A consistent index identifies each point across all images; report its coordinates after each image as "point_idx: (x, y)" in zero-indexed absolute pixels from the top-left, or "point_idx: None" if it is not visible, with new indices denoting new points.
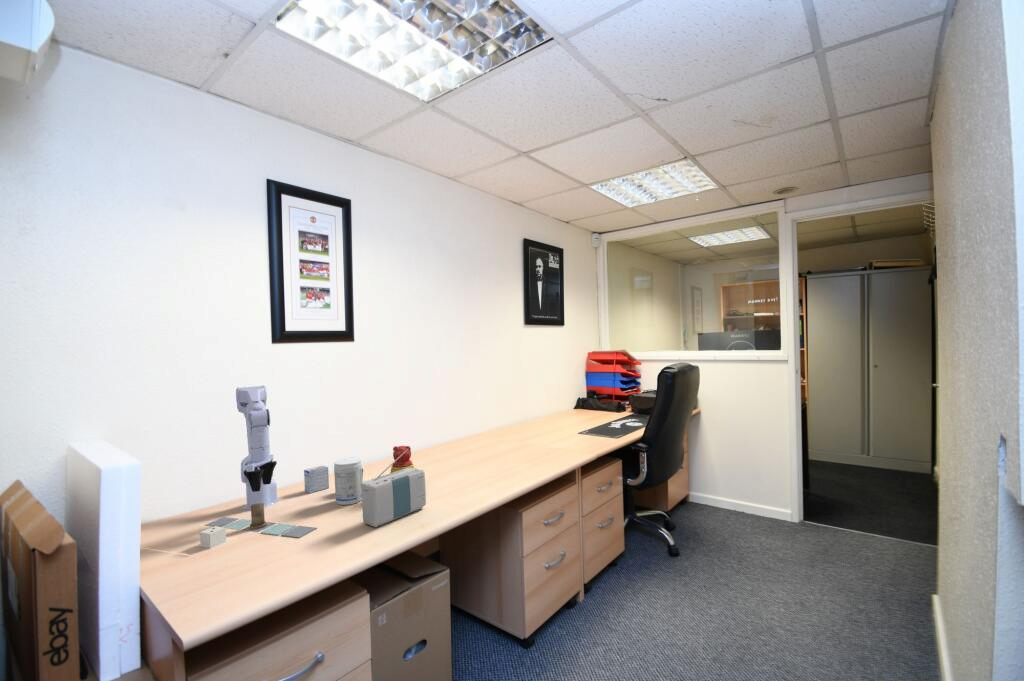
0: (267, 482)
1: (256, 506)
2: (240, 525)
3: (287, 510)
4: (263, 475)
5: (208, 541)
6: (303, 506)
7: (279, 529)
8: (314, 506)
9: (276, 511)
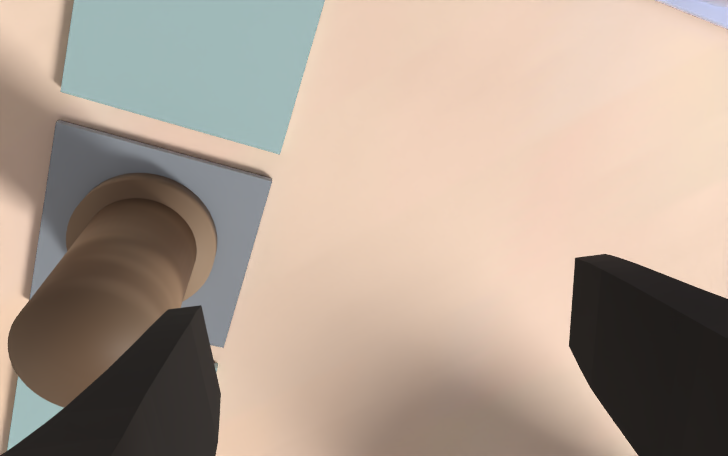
0: (586, 334)
1: (34, 373)
2: (162, 43)
3: (535, 265)
4: (679, 350)
5: None
6: None
7: None
8: (577, 423)
9: (532, 179)
